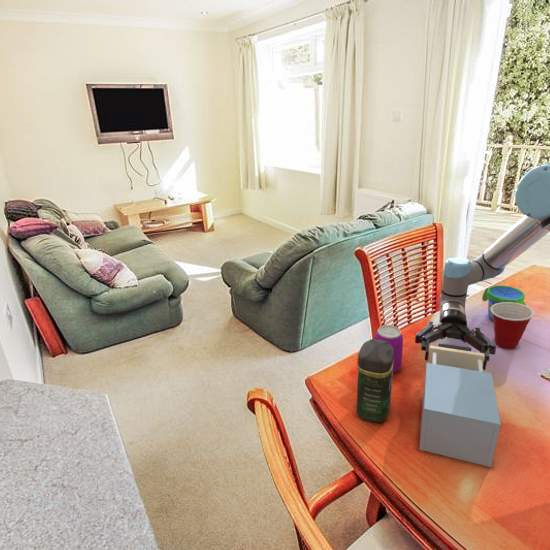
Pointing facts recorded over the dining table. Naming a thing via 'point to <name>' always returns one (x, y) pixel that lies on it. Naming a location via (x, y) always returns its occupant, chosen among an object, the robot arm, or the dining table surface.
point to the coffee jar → (374, 380)
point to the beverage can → (392, 342)
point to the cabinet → (459, 414)
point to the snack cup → (502, 296)
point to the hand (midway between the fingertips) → (454, 360)
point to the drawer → (456, 357)
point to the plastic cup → (510, 323)
